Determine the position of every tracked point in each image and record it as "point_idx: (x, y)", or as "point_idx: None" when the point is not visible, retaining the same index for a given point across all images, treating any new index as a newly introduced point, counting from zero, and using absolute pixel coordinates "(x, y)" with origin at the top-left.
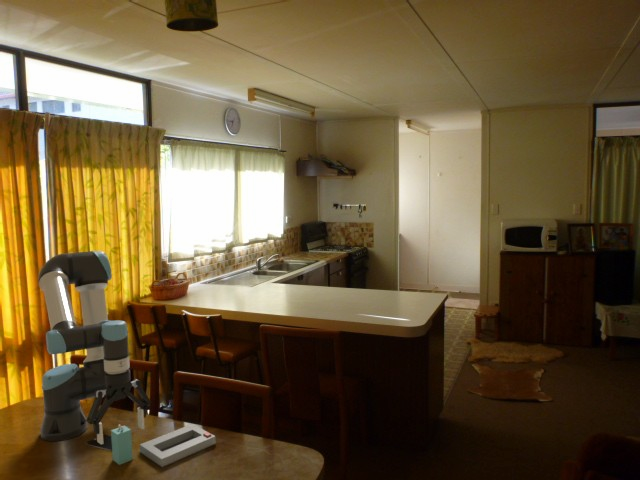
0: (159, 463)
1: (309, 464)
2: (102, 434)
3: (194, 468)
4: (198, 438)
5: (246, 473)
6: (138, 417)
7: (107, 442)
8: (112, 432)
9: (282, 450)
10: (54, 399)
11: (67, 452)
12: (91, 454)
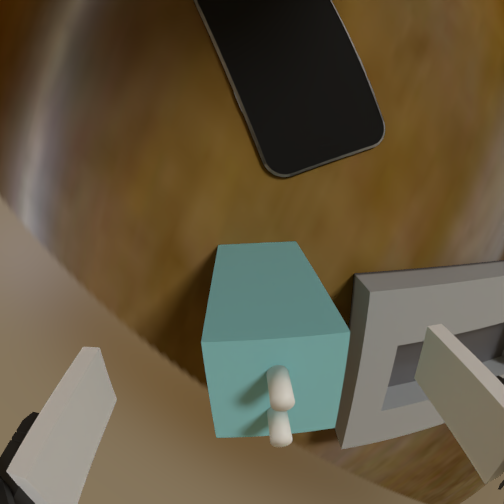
0: (337, 420)
1: (469, 493)
2: (93, 449)
3: (382, 459)
4: None
5: (414, 496)
6: (468, 383)
7: (277, 32)
8: (205, 362)
9: None
10: None
11: (84, 6)
12: (154, 96)
